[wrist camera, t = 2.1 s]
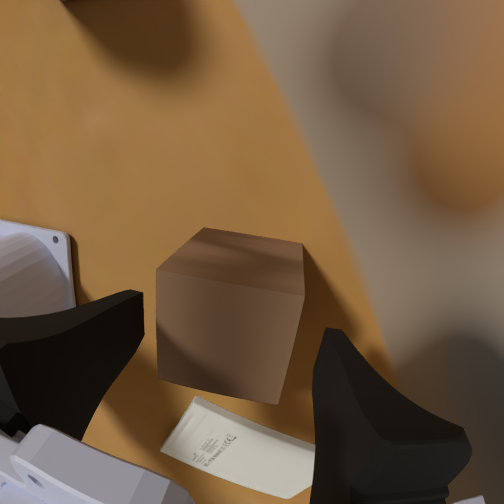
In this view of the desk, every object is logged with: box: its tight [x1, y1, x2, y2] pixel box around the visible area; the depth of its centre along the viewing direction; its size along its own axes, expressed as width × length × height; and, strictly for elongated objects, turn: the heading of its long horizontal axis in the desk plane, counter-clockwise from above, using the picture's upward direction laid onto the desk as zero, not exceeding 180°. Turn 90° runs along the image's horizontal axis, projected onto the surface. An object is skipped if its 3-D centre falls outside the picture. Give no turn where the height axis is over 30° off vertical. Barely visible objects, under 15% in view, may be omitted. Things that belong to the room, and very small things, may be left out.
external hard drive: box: [160, 395, 315, 499], centre depth 21 cm, size 2×8×12 cm
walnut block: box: [156, 228, 305, 405], centre depth 14 cm, size 5×5×6 cm
